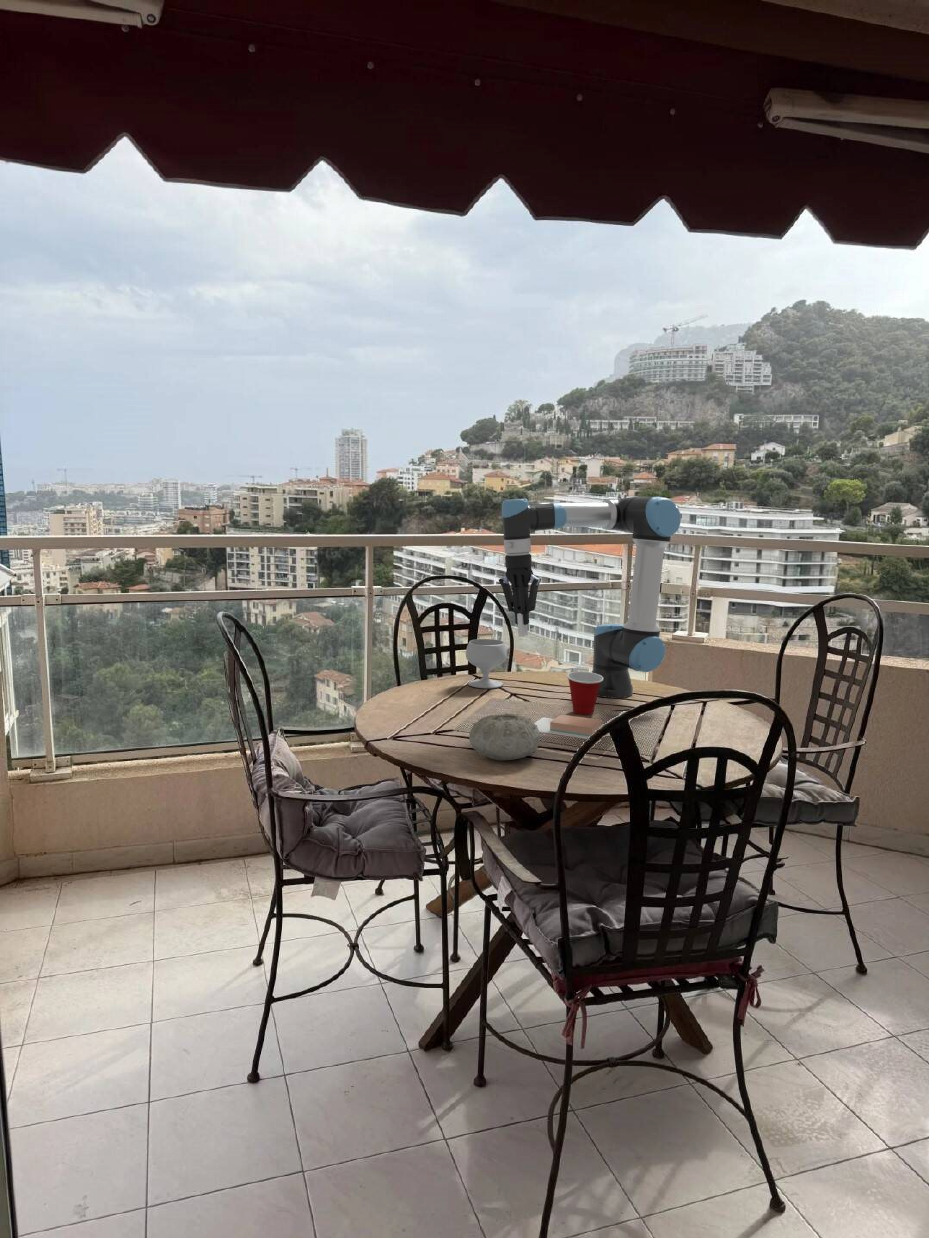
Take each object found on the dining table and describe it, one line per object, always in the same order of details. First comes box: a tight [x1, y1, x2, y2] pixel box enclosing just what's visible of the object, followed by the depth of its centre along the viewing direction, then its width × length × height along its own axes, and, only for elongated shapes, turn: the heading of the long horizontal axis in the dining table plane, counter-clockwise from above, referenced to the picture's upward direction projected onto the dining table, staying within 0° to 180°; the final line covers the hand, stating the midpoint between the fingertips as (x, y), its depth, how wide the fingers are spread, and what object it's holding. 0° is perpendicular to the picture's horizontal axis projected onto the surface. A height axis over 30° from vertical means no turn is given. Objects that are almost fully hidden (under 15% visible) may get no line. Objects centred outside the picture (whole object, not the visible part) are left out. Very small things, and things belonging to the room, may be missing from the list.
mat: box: [533, 716, 589, 740], centre depth 227 cm, size 20×14×1 cm
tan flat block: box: [550, 713, 603, 736], centre depth 226 cm, size 2×9×12 cm
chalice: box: [465, 638, 508, 689], centre depth 277 cm, size 14×14×15 cm
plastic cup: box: [566, 670, 603, 716], centre depth 243 cm, size 11×11×12 cm
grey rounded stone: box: [468, 712, 541, 761], centre depth 205 cm, size 18×18×10 cm
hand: (523, 635), depth 235 cm, fingers closed
